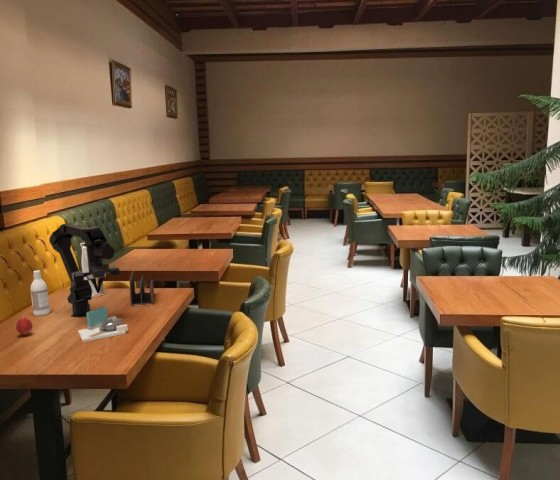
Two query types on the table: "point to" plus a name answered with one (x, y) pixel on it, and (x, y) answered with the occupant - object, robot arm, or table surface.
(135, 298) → the letter holder
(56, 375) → the table surface
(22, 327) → the onion
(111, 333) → the plate
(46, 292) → the bath foam
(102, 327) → the cam foot
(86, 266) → the skyscraper
